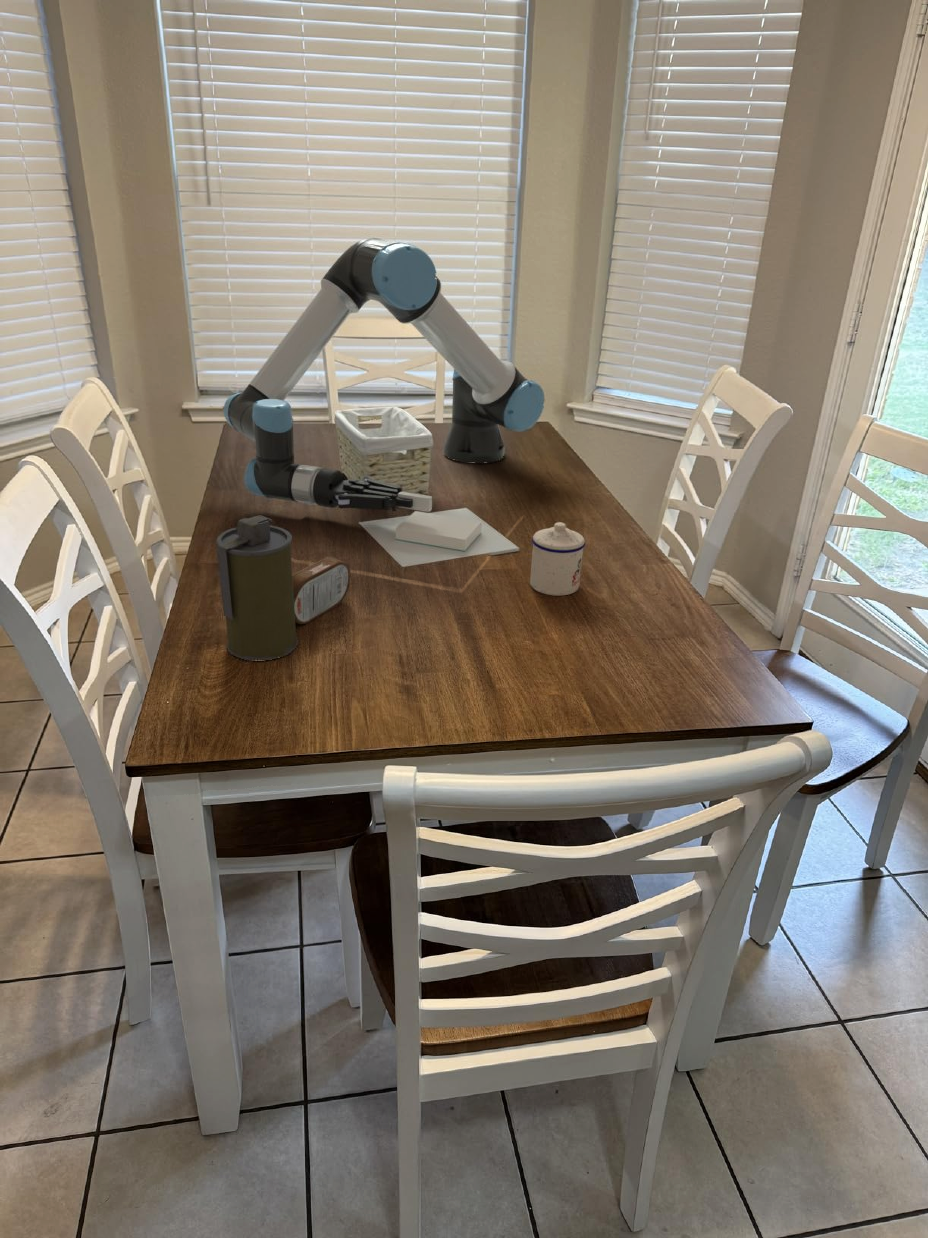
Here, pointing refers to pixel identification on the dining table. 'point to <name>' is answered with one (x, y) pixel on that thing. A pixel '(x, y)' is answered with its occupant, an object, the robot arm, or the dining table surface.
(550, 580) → the teacup with lid
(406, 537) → the tile
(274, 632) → the canister
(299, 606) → the tin
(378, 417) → the storage basket
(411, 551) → the mat
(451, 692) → the dining table surface
